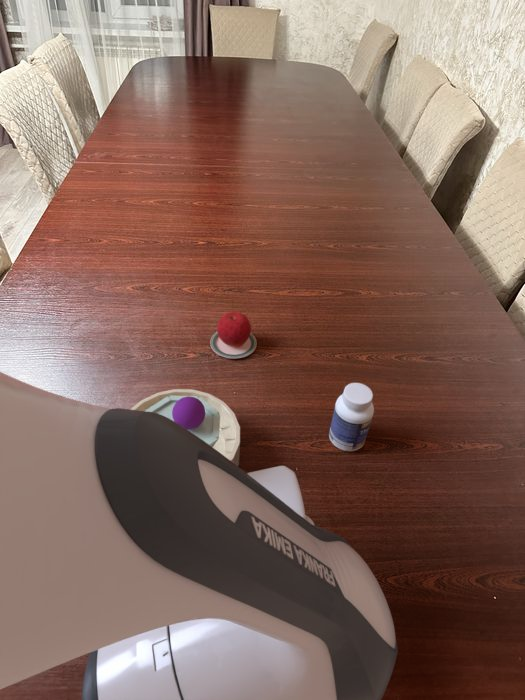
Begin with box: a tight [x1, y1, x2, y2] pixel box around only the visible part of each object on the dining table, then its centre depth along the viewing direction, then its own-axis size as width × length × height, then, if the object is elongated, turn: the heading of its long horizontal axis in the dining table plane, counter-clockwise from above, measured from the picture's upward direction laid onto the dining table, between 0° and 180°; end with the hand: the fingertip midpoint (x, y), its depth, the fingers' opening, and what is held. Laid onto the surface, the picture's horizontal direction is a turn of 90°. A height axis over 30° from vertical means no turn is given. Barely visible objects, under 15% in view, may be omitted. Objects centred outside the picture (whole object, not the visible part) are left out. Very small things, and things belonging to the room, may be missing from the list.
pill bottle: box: [328, 382, 375, 452], centre depth 74 cm, size 5×5×10 cm
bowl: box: [129, 388, 241, 467], centre depth 71 cm, size 16×16×6 cm
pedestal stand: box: [145, 396, 220, 447], centre depth 52 cm, size 7×7×11 cm
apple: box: [209, 311, 257, 360], centre depth 89 cm, size 8×8×6 cm
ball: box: [172, 397, 205, 430], centre depth 48 cm, size 3×3×3 cm
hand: (181, 455), depth 53 cm, fingers closed on pedestal stand, 3 cm apart
